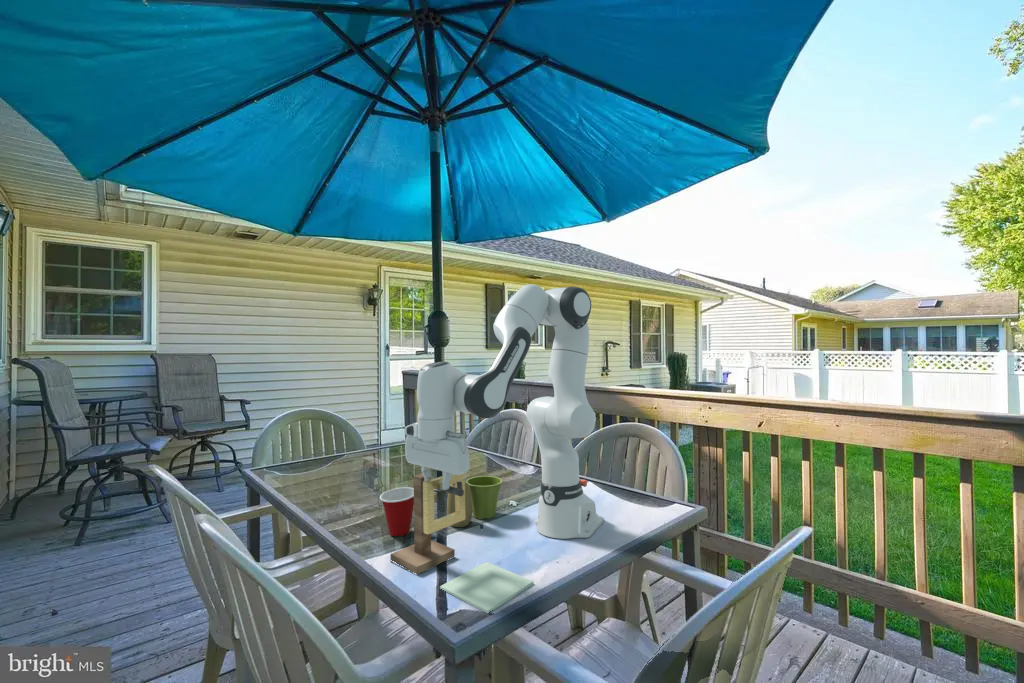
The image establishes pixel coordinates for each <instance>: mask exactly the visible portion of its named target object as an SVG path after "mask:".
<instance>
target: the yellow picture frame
mask: <svg viewBox="0 0 1024 683" xmlns="http://www.w3.org/2000/svg"><path fill="white" fill-rule="evenodd" d="M465 474H466V473H464V474H461V475H455V474H453V476H452V478H451V480H450V481H449V483H450V485H451V484H453V483H455V488H457V482H462V489H463V490H464V494H463V496H458V495H455V513H452V514H449V515H447V514H446V515H445V516H442V517H439V518H436V519H435V490H437V488H440V482H441V481H443V478H444V476H443V475H441V476H439V477H434V479H431V480H427V481H424V482H423V525H424V533H425V534H431V535H432V533H435V532H437V531H441V530H443V529H445V528H448V527H450V526H451V525H453V524H455V523H458V522H460V521H463V520H465V476H466V475H465Z"/></svg>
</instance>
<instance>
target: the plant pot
mask: <svg viewBox="0 0 1024 683" xmlns="http://www.w3.org/2000/svg"><path fill="white" fill-rule="evenodd" d="M466 483H468V484H469V485H470V492H471V501H472V510H473V512H472V515H473V517H474V518H475V519H479V520H483V519H491V518H493V517H495V516H496V511H497V505H498V499H499V492H500V489H501V484H502V483H503V479H502V478H500V477H498V476H491V475H481V476H480V475H479V476H473V477H469V478H467V482H466Z"/></svg>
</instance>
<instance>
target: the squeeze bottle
mask: <svg viewBox="0 0 1024 683" xmlns="http://www.w3.org/2000/svg"><path fill="white" fill-rule="evenodd" d="M467 480H468V478H467V476H466V475H465V520H463V521H460V522H458V523H455V524H453V525H450V526H451V527H452V528H453V527H454V528H463V527H466V526H469V524H470V523H471V519H472V515H473V510H472V501H471V492H470V485H469V484H468V483H466V482H467ZM450 486H452V487H455V483H453V484H450ZM446 502H447V504H446V516H447V515H449V514H452V513H455V495H454V494H451V493H447V501H446Z"/></svg>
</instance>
